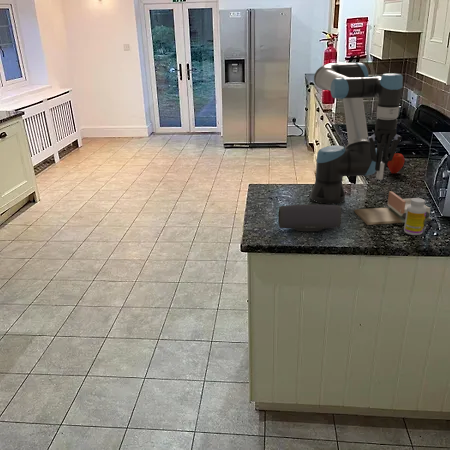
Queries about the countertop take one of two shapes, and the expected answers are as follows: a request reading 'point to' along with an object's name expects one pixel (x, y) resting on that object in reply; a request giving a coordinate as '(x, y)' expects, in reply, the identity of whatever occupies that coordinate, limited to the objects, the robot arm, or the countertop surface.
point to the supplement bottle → (415, 217)
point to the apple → (396, 163)
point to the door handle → (404, 159)
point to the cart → (402, 205)
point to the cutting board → (381, 216)
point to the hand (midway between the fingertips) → (379, 178)
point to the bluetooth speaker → (309, 217)
